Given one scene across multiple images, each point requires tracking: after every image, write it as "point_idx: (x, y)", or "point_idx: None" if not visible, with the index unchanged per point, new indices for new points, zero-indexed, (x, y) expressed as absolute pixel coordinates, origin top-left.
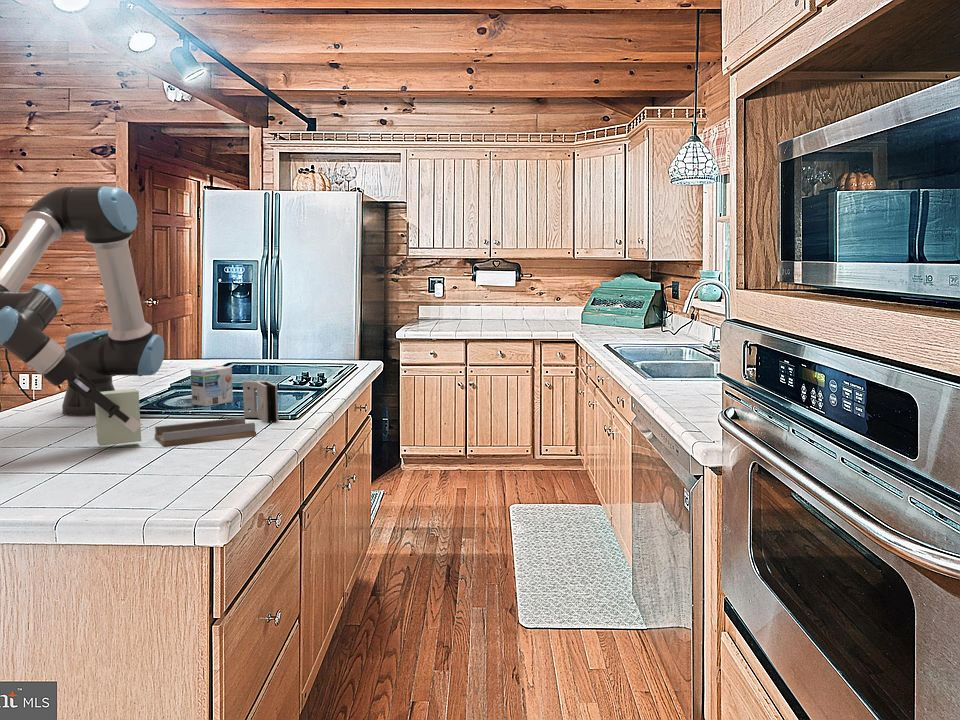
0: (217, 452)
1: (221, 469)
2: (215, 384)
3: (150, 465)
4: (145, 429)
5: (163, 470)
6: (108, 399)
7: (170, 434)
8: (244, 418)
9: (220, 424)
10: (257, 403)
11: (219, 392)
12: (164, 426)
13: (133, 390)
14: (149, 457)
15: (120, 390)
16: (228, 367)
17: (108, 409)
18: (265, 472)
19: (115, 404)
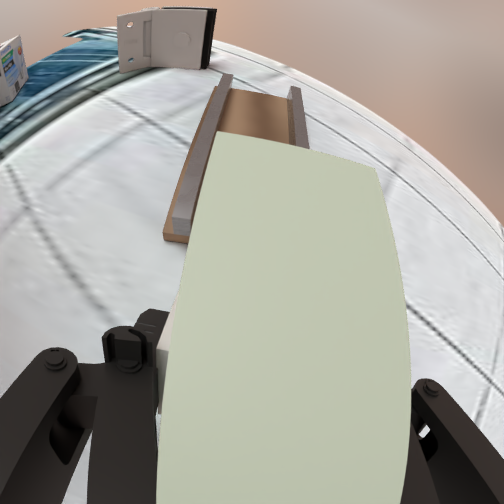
0: (407, 204)
1: (488, 252)
2: (12, 64)
3: (461, 344)
4: (39, 220)
5: (487, 328)
6: (483, 438)
7: None
8: (232, 75)
9: (224, 105)
10: (152, 44)
11: (17, 72)
12: (194, 194)
13: (311, 172)
14: (409, 333)
15: (222, 272)
16: (15, 37)
17: (428, 443)
18: (495, 221)
19: (452, 398)
